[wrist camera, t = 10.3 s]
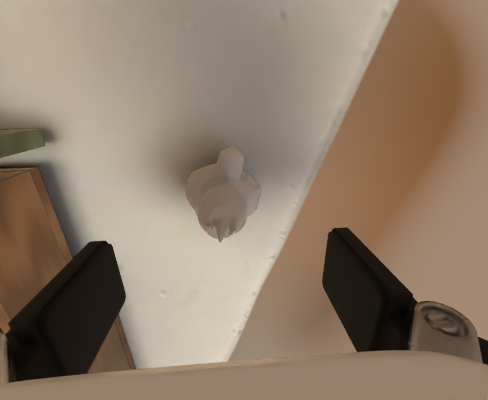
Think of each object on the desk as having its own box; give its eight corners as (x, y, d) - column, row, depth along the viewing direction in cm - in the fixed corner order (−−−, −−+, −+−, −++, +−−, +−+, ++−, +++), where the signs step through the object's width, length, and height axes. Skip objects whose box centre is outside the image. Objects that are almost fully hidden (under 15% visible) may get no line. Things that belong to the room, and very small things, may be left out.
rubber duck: (186, 209, 20) (164, 271, 13) (197, 132, 18) (178, 155, 11) (247, 219, 21) (258, 283, 14) (266, 147, 19) (291, 178, 11)
